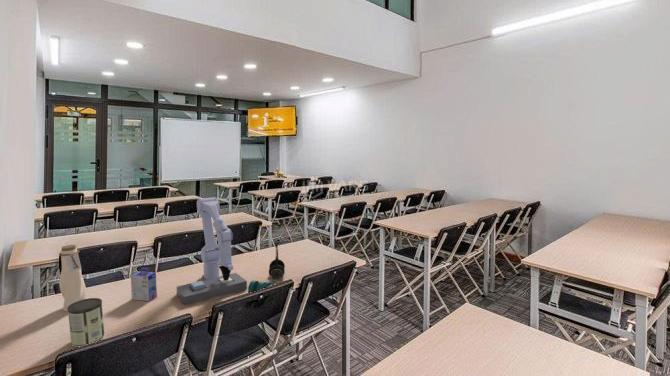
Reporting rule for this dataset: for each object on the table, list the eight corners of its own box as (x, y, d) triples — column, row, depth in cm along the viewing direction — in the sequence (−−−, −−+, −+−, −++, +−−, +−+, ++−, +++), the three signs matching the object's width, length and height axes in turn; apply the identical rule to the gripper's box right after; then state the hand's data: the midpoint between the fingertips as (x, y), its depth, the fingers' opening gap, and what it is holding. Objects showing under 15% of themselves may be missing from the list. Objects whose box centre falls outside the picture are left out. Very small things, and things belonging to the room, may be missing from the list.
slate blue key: (191, 289, 164) (190, 283, 164) (201, 286, 168) (201, 280, 167) (194, 292, 161) (193, 286, 160) (204, 290, 164) (204, 284, 163)
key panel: (176, 294, 165) (176, 286, 164) (236, 279, 183) (235, 272, 183) (184, 305, 154) (184, 296, 154) (246, 288, 173) (246, 281, 172)
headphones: (284, 271, 197) (284, 237, 194) (284, 281, 182) (284, 245, 180) (269, 271, 195) (269, 238, 193) (268, 282, 181) (267, 245, 178)
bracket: (260, 301, 159) (260, 285, 158) (248, 299, 161) (247, 283, 160) (278, 286, 176) (278, 271, 175) (266, 284, 178) (266, 270, 177)
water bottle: (93, 304, 153) (88, 245, 150) (72, 314, 145) (67, 250, 141) (78, 301, 157) (72, 242, 153) (56, 310, 148) (50, 248, 145)
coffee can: (83, 332, 131) (80, 297, 129) (110, 332, 132) (108, 297, 130) (63, 348, 121) (59, 310, 119) (92, 347, 121) (89, 310, 120)
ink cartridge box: (158, 296, 162) (156, 267, 161) (149, 301, 157) (147, 271, 155) (140, 294, 164) (138, 265, 163) (131, 299, 159) (129, 270, 157)
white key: (219, 284, 173) (219, 279, 173) (229, 282, 176) (229, 276, 176) (223, 287, 169) (223, 282, 169) (233, 285, 172) (232, 279, 172)
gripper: (212, 251, 174) (213, 276, 176) (222, 259, 163) (223, 286, 164) (225, 249, 178) (226, 273, 180) (236, 256, 167) (237, 282, 169)
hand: (226, 279), depth 172 cm, fingers closed, pressing on white key
